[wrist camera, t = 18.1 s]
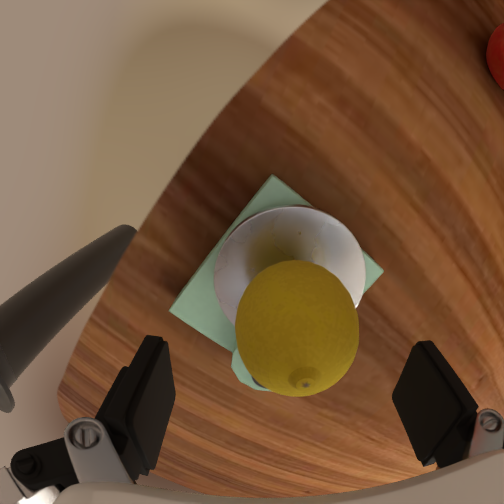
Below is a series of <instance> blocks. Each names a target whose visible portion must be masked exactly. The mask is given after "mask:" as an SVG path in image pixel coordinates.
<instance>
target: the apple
mask: <svg viewBox="0 0 504 504" xmlns="http://www.w3.org/2000/svg"><path fill="white" fill-rule="evenodd" d="M486 58H487V64H488V67H489V69H490V72H491V74H492V76H493V78H494V79H495V81H496V82H497V84H498V85H499V87H500V88H501V89H503V90H504V23H502V24H501V25H499V26H497V28H496V29H495V31H494V32H493V34H492V35H491V36H490V39H489V42H488V46H487V51H486Z"/></svg>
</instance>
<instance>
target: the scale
mask: <svg viewBox="0 0 504 504" xmlns="http://www.w3.org/2000/svg"><path fill="white" fill-rule="evenodd" d="M283 204H301V205H308V206H312V205H311V204H310V203H309V202H307V201H306V200H305V199H304V198H302V197H301V196H300V195H299V194H298V193H296V192H295V191H294V190H293V189H291V188H290V187H289V186H288V185H286V184H285V183H284V182H283V181H281V180H280V179H279V178H278V177H276V176H275V175H274V174H271V176H270V177H269V178H268V179H267V180H266V182H265V183H264V184H263V185H262V187H261V188H260V189H259V190H258V192H257V193H256V194H255V195H254V197H253V198H252V199H251V201H250V202H249V203H248V204H247V206H246V207H245V208H244V209H243V211H242V212H241V213H240V214H239V216H238V217H237V218H236V220H235V221H234V222H233V223H232V225H231V226H230V227H229V229H228V230H227V231H226V232H225V234H224V235H223V236H222V238H221V239H220V240H219V242H218V243H217V244H216V245H215V247H214V248H213V249H212V251H211V252H210V253H209V255H208V256H207V257H206V259H205V260H204V261H203V263H202V264H201V265H200V267H199V268H198V269H197V271H196V272H195V273H194V275H193V276H192V277H191V279H190V280H189V281H188V283H187V284H186V285H185V287H184V288H183V289H182V291H181V292H180V293H179V295H178V296H177V297H176V299H175V301H174V302H173V304H172V306H171V308H170V310H169V311H170V312H171V313H172V314H174V315H175V316H177V317H178V318H180V319H181V320H183V321H184V322H186V323H187V324H189V325H190V326H192V327H193V328H195V329H196V330H198V331H199V332H201V333H202V334H204V335H205V336H207V337H208V338H210V339H212V340H213V341H215V342H216V343H218V344H219V345H221V346H223V347H224V348H226V349H228V350H229V351H231V352H232V353H233V356H232V364H231V367H232V369H233V371H234V373H235V374H236V376H237V377H238V379H239V380H240V382H242V383H244V384H246V385H248V386H250V387H251V388H253V389H256V390H263V391H271V390H269V389H265V388H262V387H259V386H258V385H256V384H255V383H254V381H253V380H252V377H251V374H250V373H249V372H248V370H247V369H246V367H245V365H244V363H243V361H242V359H241V357H240V354H239V351H238V347H237V340H236V333H235V326H234V325H233V324H232V323H231V322H230V321H229V320H228V318H227V317H226V316H225V314H224V313H223V311H222V309H221V307H220V305H219V303H218V300H217V298H216V294H215V289H214V268H215V264H216V260H217V257H218V254H219V252H220V249H221V247H222V245H223V243H224V242H225V240H226V238H227V237H228V236H229V234H230V233H231V232H232V230H233V229H234V228H235V227H236V226H237V225H238V224H239V223H241V222H242V221H243V220H245V219H246V218H247V217H249V216H251V215H252V214H254V213H256V212H258V211H260V210H263V209H265V208H268V207H272V206H276V205H283ZM312 207H313V206H312ZM361 250H362V252H363V256H364V259H365V266H366V280H365V287H364V290H363V293H364V292H365V291H366V290H367V289H368V288H369V287H370V286H371V285H372V284H373V283H374V282H375V281H376V280H377V278H378V277H379V276H380V275H381V274H382V273H383V272H384V270H383V269H382V268H381V267H380V266H379V265H378V264H377V263H376V261H374V260H373V259H372V258H371V257H370V256H369V255H368V254H367V253H366V252H365V251H364V250H363V249H361Z"/></svg>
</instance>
